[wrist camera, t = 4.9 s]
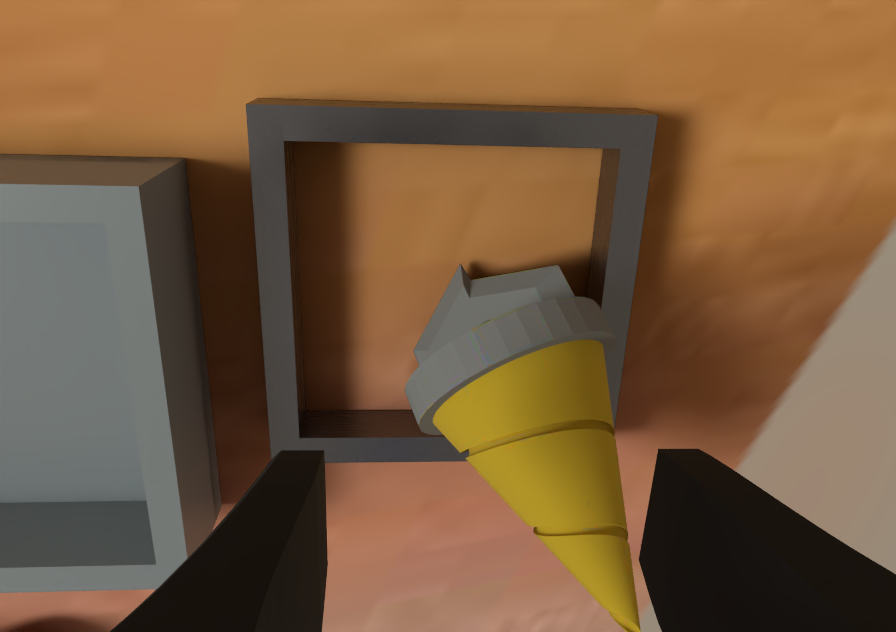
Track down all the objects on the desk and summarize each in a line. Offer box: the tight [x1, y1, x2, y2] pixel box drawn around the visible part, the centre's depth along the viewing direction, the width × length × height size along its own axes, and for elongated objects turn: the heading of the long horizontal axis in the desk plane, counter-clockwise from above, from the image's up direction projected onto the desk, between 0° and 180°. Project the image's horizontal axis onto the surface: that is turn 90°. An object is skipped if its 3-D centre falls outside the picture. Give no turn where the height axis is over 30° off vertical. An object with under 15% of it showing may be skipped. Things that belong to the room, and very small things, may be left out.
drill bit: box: [405, 264, 641, 632], centre depth 17 cm, size 5×5×10 cm
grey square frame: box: [246, 98, 658, 463], centre depth 19 cm, size 10×10×2 cm
